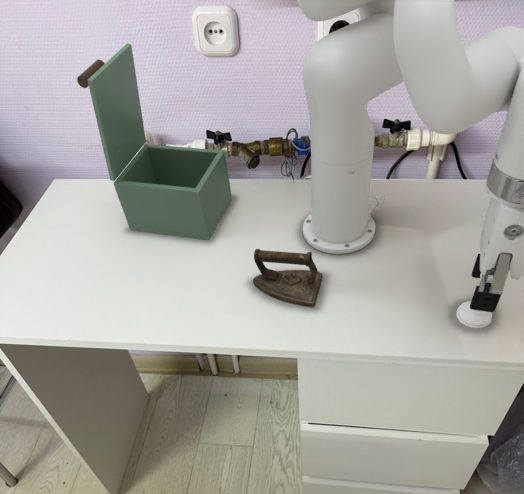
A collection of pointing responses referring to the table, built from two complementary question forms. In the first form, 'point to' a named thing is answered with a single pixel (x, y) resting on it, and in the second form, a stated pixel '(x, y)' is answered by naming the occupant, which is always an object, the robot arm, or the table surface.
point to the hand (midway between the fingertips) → (482, 292)
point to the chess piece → (474, 312)
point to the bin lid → (116, 108)
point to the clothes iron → (288, 277)
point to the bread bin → (175, 190)
